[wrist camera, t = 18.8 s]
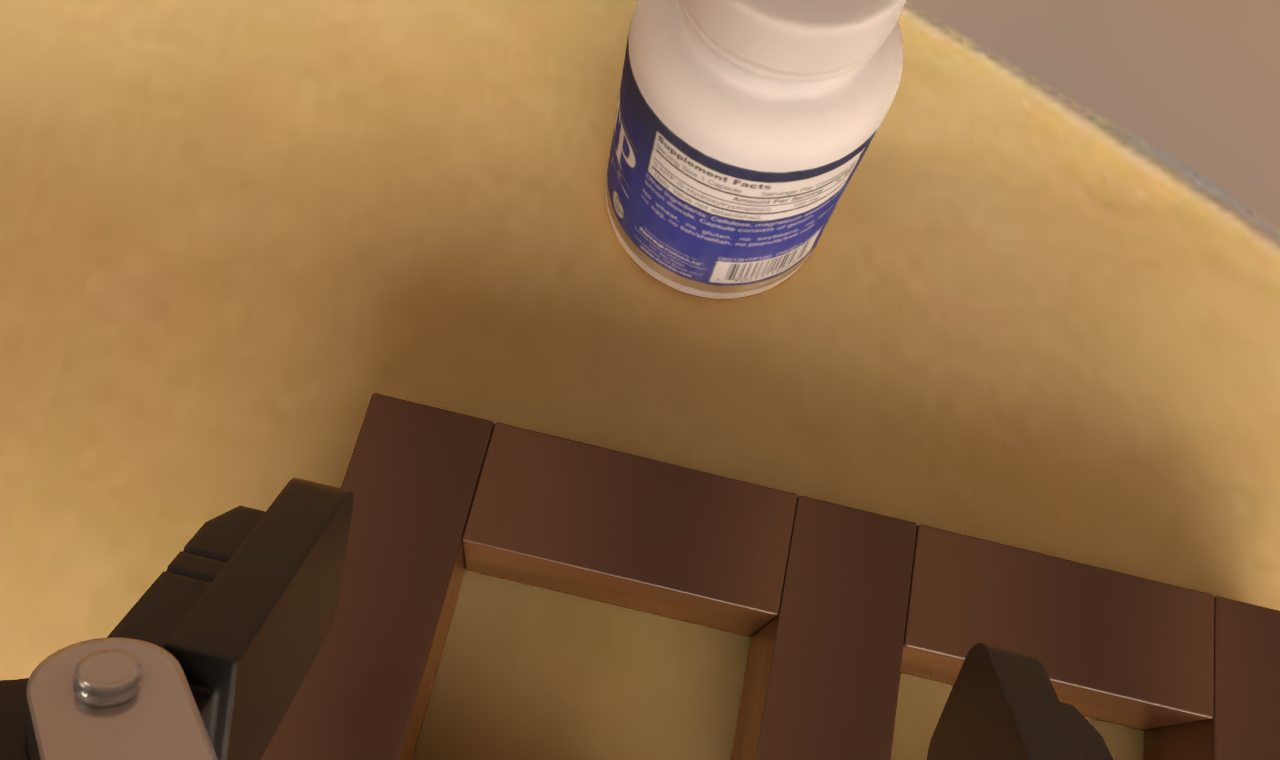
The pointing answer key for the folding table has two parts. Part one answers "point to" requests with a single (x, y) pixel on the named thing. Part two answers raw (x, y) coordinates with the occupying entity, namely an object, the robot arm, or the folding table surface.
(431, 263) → the folding table surface
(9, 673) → the folding table surface
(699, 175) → the pill bottle
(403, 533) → the peg board
